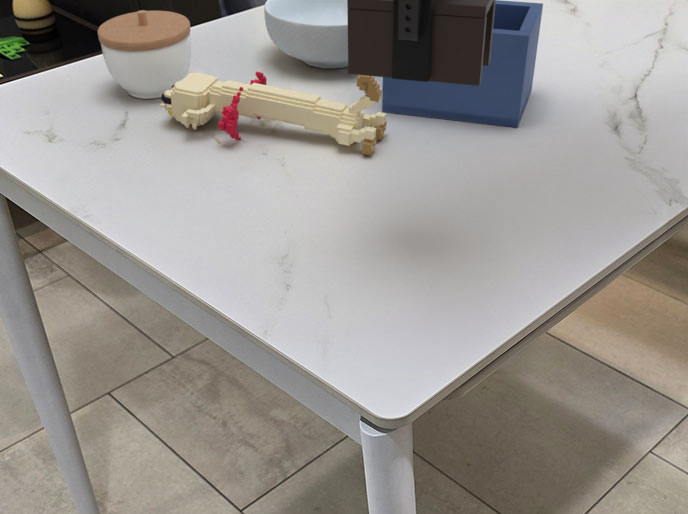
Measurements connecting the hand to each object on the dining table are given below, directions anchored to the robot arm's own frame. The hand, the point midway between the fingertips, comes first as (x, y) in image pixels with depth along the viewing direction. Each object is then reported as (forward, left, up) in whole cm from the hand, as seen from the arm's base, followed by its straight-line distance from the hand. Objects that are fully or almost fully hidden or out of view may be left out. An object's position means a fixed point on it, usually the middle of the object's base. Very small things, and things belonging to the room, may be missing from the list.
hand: (419, 64), depth 65 cm
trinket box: (+38, -23, -16) cm, 47 cm away
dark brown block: (0, 0, 0) cm, 0 cm away
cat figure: (+20, -16, -16) cm, 30 cm away
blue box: (+2, -29, -16) cm, 33 cm away
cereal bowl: (+20, -38, -16) cm, 46 cm away
